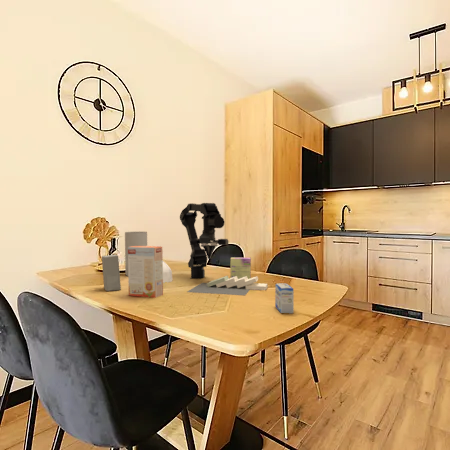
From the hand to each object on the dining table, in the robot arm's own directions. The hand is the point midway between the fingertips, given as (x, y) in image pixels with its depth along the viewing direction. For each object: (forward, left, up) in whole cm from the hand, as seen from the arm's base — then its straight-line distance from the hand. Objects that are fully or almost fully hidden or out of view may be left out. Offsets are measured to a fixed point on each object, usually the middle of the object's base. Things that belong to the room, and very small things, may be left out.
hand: (209, 258), depth 153 cm
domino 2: (+7, -9, -11) cm, 16 cm away
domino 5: (+21, -9, -11) cm, 25 cm away
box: (+14, +9, -12) cm, 21 cm away
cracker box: (-18, -31, -12) cm, 38 cm away
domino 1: (+3, -9, -11) cm, 14 cm away
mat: (+10, -13, -12) cm, 20 cm away
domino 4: (+17, -9, -10) cm, 22 cm away
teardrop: (-26, -1, -12) cm, 29 cm away
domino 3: (+12, -9, -11) cm, 19 cm away
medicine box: (+40, -38, -12) cm, 56 cm away
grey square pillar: (-49, +12, -12) cm, 52 cm away
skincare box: (-40, -24, -12) cm, 48 cm away
